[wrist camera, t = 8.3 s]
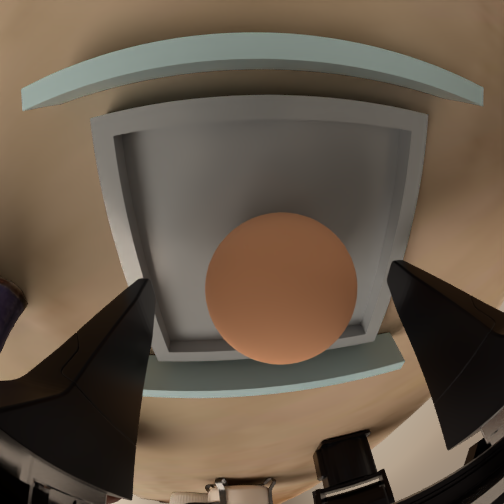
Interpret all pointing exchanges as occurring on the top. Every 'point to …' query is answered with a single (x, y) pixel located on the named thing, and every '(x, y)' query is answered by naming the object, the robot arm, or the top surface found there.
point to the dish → (254, 195)
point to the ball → (281, 288)
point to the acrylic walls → (242, 58)
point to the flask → (9, 307)
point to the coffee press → (238, 493)
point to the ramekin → (187, 498)
